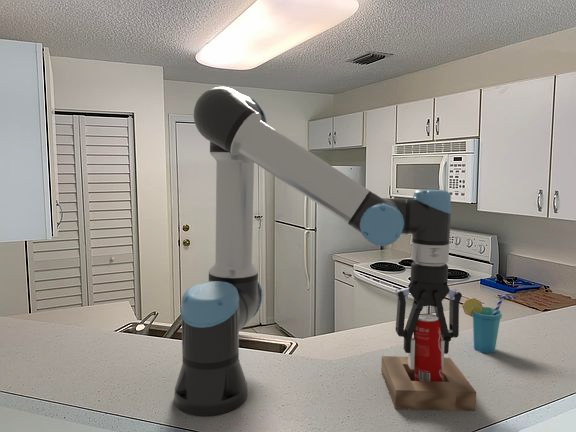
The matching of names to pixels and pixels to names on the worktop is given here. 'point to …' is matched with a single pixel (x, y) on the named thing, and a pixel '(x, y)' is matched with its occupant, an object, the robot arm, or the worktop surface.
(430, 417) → the worktop surface
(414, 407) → the socket
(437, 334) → the beverage can
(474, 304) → the cup
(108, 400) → the worktop surface
